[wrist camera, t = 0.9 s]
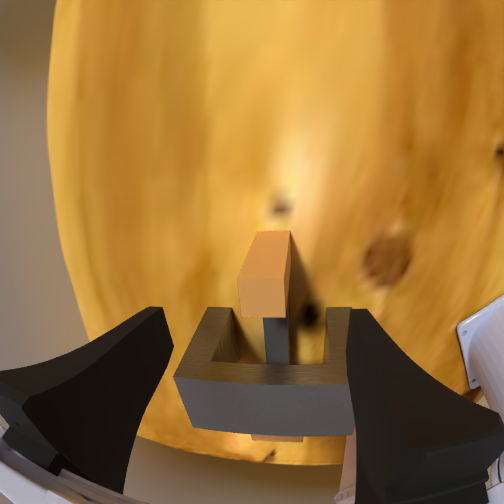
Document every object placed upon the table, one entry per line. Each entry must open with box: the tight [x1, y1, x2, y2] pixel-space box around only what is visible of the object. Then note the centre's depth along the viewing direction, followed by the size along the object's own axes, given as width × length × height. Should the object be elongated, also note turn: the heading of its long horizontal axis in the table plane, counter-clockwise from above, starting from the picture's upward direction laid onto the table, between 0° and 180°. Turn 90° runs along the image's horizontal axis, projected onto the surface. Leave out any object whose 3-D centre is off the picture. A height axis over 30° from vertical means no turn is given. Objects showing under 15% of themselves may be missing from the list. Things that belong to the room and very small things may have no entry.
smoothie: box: [335, 427, 356, 504], centre depth 18 cm, size 6×6×14 cm
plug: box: [237, 231, 303, 442], centre depth 19 cm, size 16×4×6 cm, turn 5°
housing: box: [173, 307, 355, 436], centre depth 18 cm, size 5×10×7 cm, turn 95°
